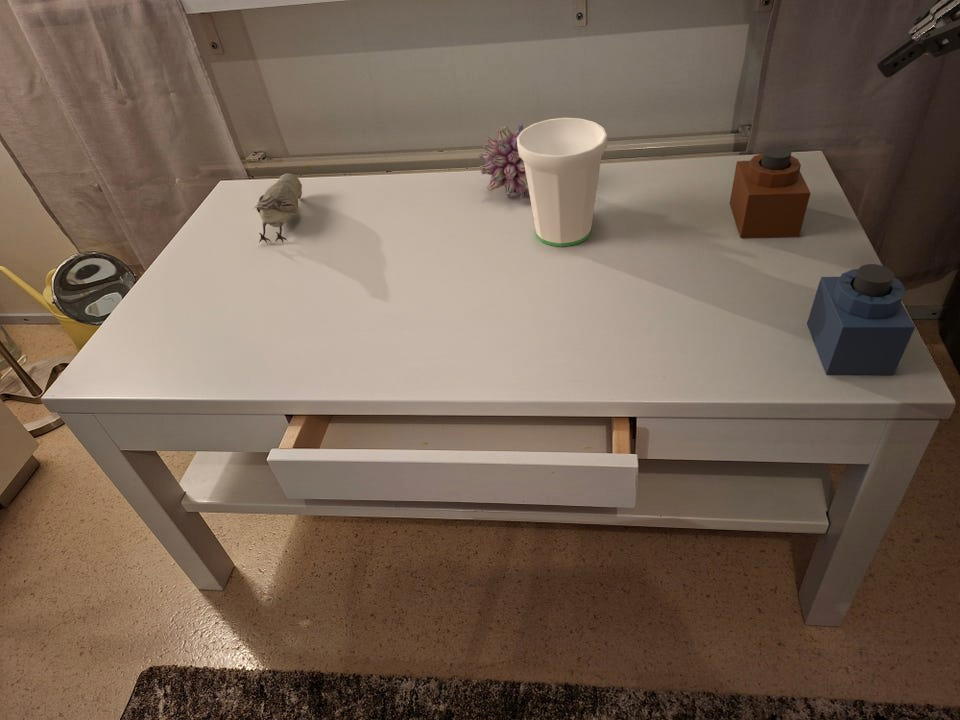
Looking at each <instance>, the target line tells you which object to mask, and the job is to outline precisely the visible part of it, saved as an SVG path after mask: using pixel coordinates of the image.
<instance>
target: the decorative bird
mask: <svg viewBox="0 0 960 720" xmlns="http://www.w3.org/2000/svg"><path fill="white" fill-rule="evenodd" d="M302 185H303V184H302V182H301V180H300V179H299V178H298V177H297V176H296V175H295V174H293V173H289V172H287V173H284V174H282V175H280V177H279V178H278V180H277V181H276V182H275V183H274V184H273V185H271V186H270V187H268V188H267V189H266V191H265V192H264V194H262V195H261V196H259V198H258V202H257V204H256V205H255V206H254V207H253V208H252V210H254V209H256V211H257V213H259V216H260V219H261V220H262V230H263V231H262V232H263V233H261V232H258V234H259V235H260V239H259V241H258V243H261V242H262V241H264V242H265V244H268V242H270V243H272V240H271V239H270V238H267V237H266V236H265V235H266V226H267V225H269V226H271V227H273V228H279V232H278V231H275V233H276V238H275V242H277V241H278V240H281V242H282V243H284V240H286V241H288V239H287V238H285V237H284V236H282V232H283V226H284V225H285V224H287V222H288V221H289V220H290V219H292V217H293V216H296V215H297V214H298V212H299V209H300V207H299V200H300V199H301V198H302V195H303V191H302V190H303V186H302Z"/></svg>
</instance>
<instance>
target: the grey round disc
mask: <svg viewBox="0 0 960 720" xmlns="http://www.w3.org/2000/svg"><path fill="white" fill-rule="evenodd" d="M762 153H763V156H762V161H761V166H762V167H763V168H765V169H770V170H784V169H787V168H788V166H789V162H790V157H791V156H792V150H791V149H790V148H787V147H785V146H779V145H774V146H773V145H772V146H768V147H766V148H764V149H763V151H762Z"/></svg>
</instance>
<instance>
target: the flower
mask: <svg viewBox="0 0 960 720" xmlns="http://www.w3.org/2000/svg"><path fill="white" fill-rule="evenodd" d="M524 129H525V128H524V124H523V122H521V123H519V124H518V127H517V129H516V130H515V131H514V132H512V131H511V130H510V129H509V127H508V125H504V126H503V127H499V128H497V129H496V131H497V133H498V134H497V139H492V138H491V137H489V136H487V137H486V139H485V141H486V142H487V143H488V144H486V143H484V144H482V148H483V149H484V150H486V152H485V153H478V155H477V156H478V158H480V159H483V160H484V161H485V162H484V163H483V164H482V165H479V170H480V174H482V175H490V179H489V184H488V186H487V190H488V191H490V192H493V191H494V190H496V189H500V188H502V187H504V190H505V195H506V196H505V197H506V198H507V199H510V198H511V195H512V194H513V192H514V191H516V193H517V194H518V195H519V198H520V199H523V198H525V195H527V196H529V195H530V194H529V188H528V183H527V177H526V171H525V166H524V161H523V160H522V159H521V158H520V157H519V153H518V146H517V137H518V136H519V134H520V133H521V132H522V130H524Z"/></svg>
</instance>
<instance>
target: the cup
mask: <svg viewBox="0 0 960 720" xmlns="http://www.w3.org/2000/svg"><path fill="white" fill-rule="evenodd" d="M523 129H524V130H522V132H521V133H520V134H519V136H518V137H517V146H518V153H519V157H520V158H521V159H522V160H523V161H524V166H525V171H526V177H527V183H528V188H529V194H528V195H529V199H530V205H531V211H532V216H533V221H534V228H535V234H536V237H537V239H538V240H539V241H540V242H541V243H544V244H546V245H549V246H553V247H569V246H570V247H571V246H576V245H577V244H580V243H582V242H584V241H585V240H587V239H588V238H589V236H590V235H591V233H592V226H593V218H594V211H595V203H596V198H597V191H598V184H599V176H600V169H601V164H602V163H601V162H602V156H603V155H604V153H605V151H606V149H607V147H608V134H607V131H606V129H605V128H604V126H602V125H600V124H599V123H597V122H596V121H593V120H589V119H584V118H580V117H578V118H576V117H559V118H557V117H556V118H551V119H545V120H542V121H538V122H535V123H532V124H530V125H529V126H527V127H526V128H523Z"/></svg>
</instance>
